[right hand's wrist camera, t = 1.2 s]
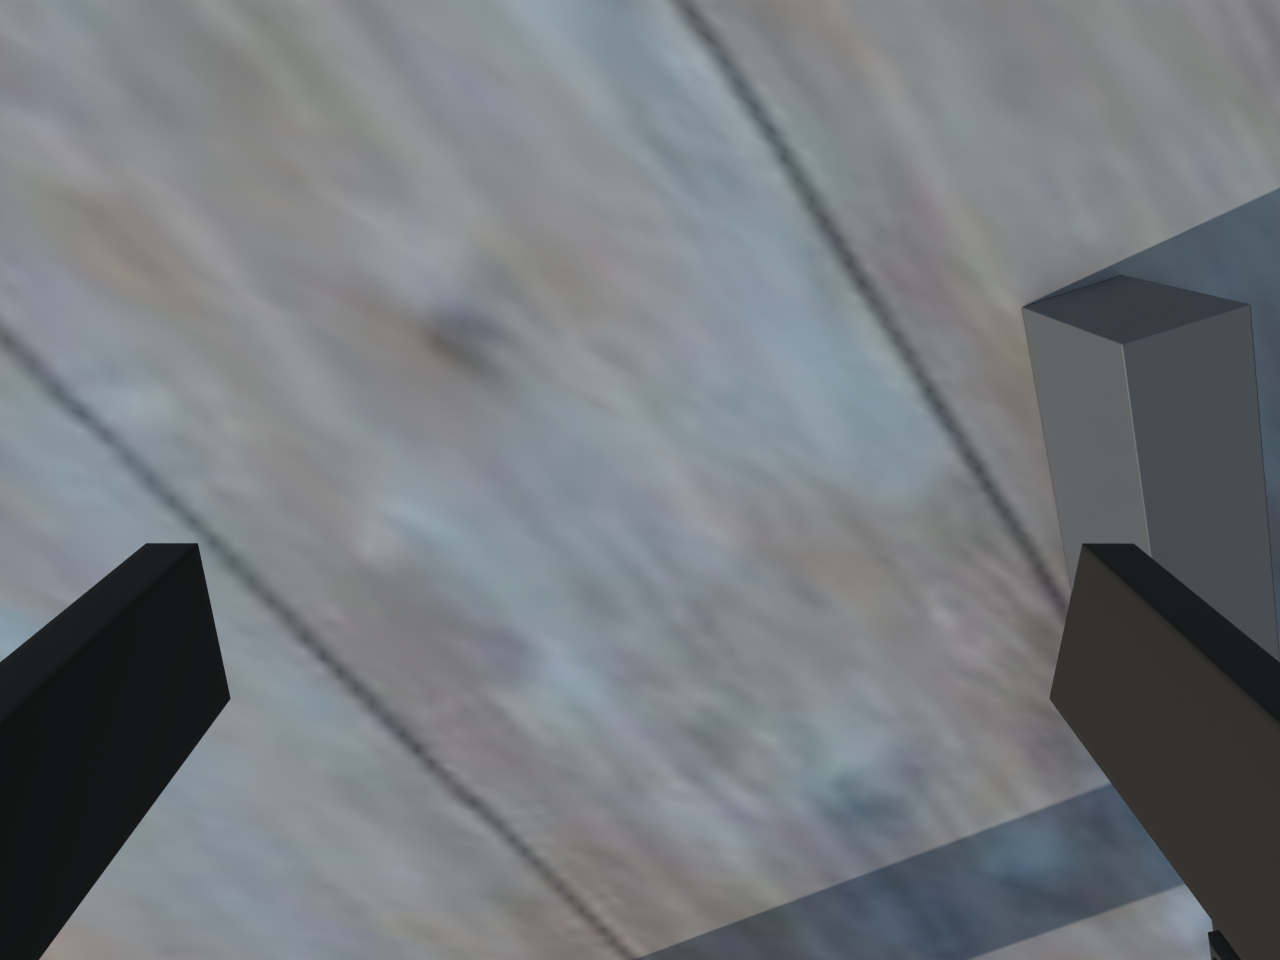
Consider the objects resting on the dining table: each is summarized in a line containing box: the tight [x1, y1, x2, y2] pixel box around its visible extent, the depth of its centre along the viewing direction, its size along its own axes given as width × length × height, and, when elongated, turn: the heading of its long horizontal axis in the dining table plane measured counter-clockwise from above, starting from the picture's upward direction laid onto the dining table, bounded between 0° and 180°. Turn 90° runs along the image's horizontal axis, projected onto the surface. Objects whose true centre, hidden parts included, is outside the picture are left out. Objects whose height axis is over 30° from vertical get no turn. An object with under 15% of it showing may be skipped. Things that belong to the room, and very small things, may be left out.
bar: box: [1022, 275, 1280, 662], centre depth 39 cm, size 26×5×9 cm, turn 18°
